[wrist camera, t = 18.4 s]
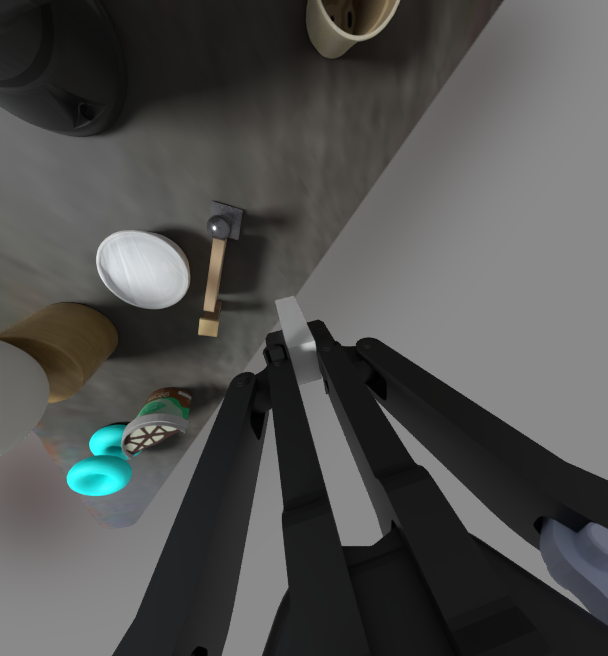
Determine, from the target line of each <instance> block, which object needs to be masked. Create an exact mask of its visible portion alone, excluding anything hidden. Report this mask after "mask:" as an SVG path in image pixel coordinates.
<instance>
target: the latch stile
mask: <svg viewBox="0 0 608 656" xmlns="http://www.w3.org/2000/svg"><path fill="white" fill-rule="evenodd" d="M221 305H222V301H218V300H216V303H215V307H214V312H211V311H205V314H204V317H203V318H202V317H200V321H199V332H198V335H206V336H214V337H217V332H218V325H219V316H220V312H221Z"/></svg>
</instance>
